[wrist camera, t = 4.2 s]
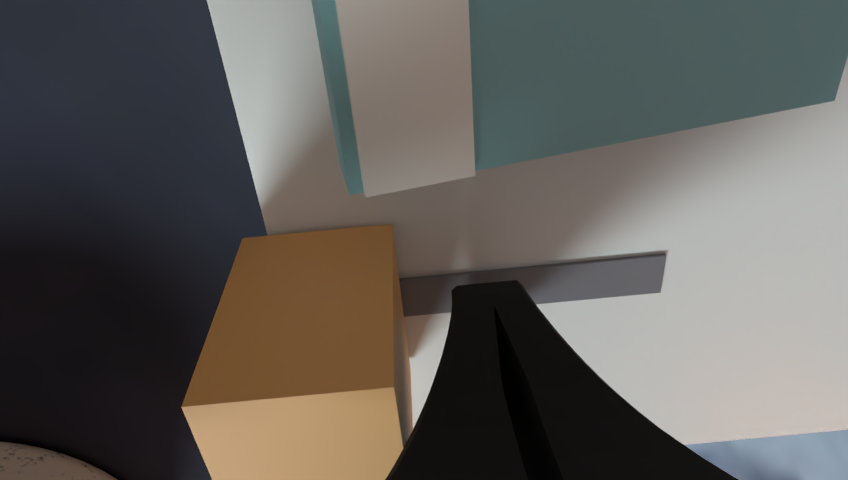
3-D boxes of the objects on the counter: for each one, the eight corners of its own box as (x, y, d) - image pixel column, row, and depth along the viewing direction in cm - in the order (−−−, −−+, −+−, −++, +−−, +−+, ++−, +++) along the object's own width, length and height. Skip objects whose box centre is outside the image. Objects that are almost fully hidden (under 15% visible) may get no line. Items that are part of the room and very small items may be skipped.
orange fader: (391, 223, 12) (394, 386, 9) (410, 368, 15) (417, 547, 11) (242, 237, 12) (181, 406, 9) (283, 380, 15) (248, 563, 11)
